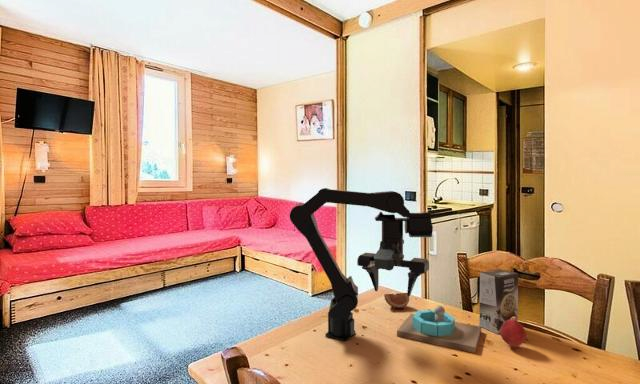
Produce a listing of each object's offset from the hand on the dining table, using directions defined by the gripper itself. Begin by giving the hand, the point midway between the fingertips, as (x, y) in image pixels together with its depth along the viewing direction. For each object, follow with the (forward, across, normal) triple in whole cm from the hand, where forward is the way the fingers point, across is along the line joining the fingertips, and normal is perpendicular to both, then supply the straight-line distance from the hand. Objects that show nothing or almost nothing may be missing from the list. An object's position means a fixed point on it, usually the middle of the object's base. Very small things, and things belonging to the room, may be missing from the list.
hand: (392, 293), depth 97 cm
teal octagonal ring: (+10, +9, +8) cm, 16 cm away
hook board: (+12, +11, +8) cm, 18 cm away
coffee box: (+12, +25, +21) cm, 35 cm away
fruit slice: (+12, -6, +22) cm, 26 cm away
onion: (+12, +29, +9) cm, 33 cm away
